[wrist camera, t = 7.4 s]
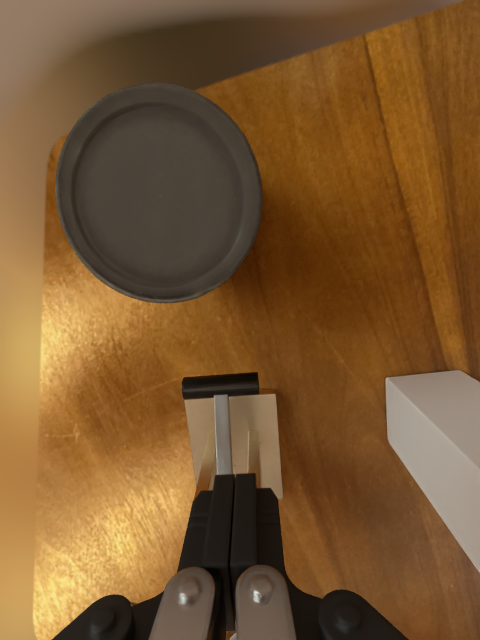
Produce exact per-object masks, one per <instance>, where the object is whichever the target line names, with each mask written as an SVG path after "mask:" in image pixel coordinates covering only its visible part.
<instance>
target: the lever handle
mask: <svg viewBox="0 0 480 640" xmlns="http://www.w3.org/2000/svg"><path fill="white" fill-rule="evenodd" d="M182 394H183V398H184V400H193V399H208V398H214V409H215V436H216V464H217V475H221V474H233V462H232V442H231V422H230V402H229V397H237V396H251V395H259V394H260V393H259V380H258V372H251V373H237V374H223V375H209V376H195V377H184V378H183V381H182Z"/></svg>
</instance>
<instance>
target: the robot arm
mask: <svg viewBox="0 0 480 640" xmlns="http://www.w3.org/2000/svg"><path fill="white" fill-rule="evenodd" d="M235 616H236V631H237V640H408V639H407V638H406V637H405V636H404V635H403V634H402V633H401V632H400V631H398V630H397V629H396V628H395V627H394V626H393V625H392V624H391V623H390V622H389V621H388V620H386V619H385V618H384V617H383V616H382V615H381V614H380V613H379V612H378V611H377V610H376V609H375V608H373V607H372V606H371V605H370V604H369V603H368V602H367V601H366V600H365V599H363V598H362V597H361V596H359V595H358V594H356V593H354V592H351V591H348V590H335V591H332V592H330V593H328V594H327V595H326V596H325V597H324V598H323V599H321V598H318V597H315V596H312V595H309V594H307V593H304V592H303V591H301V590H299V589H298V588H297V587H296V586H295V585H294V584H293V583H292V582H291V581H290V579H289V578H288V576H287V574H286V571H285V566H284V556H283V547H282V537H281V527H280V517H279V507H278V498H277V497H276V495H275V493H274V492H273V490H272V489H271V488H257V483H256V473H241V474H236V477H235V474H221V475H215V478H214V485H213V490H206V491H200V493H199V494H198V496H197V497H196V498H195V500H194V501H193V504H192V508H191V513H190V517H189V522H188V528H187V531H186V535H185V540H184V544H183V549H182V553H181V557H180V562H179V566H178V570H177V573H176V574H175V575H174V576H173V577H172V578H171V579H170V580H169V582H168V583H167V585H166V587H165V590H164V591H163V592H162V593H161V594H159V595H157V596H156V597H154V598H151V599H149V600H146V601H144V602H141V603H138V604H136V605H133V606H131V604H130V602H129V600H128V599H127V598H125V597H124V596H121V595H108V596H105V597H103V598H101V599H99V600H97V601H96V602H94V603H93V604H92V605H90V606H89V607H88V608H87V609H86V610H85V611H84V612H83V613H81V614H80V615H79V616H78V617H77V618H76V619H75V620H74V621H72V622H71V623H70V624H69V625H68V626H67V627H66V628H64V629H63V630H62V631H61V632H60V633H59V634H58V635H57V636H55V637H54V638H53V639H52V640H225V637H226V631H235Z"/></svg>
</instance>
